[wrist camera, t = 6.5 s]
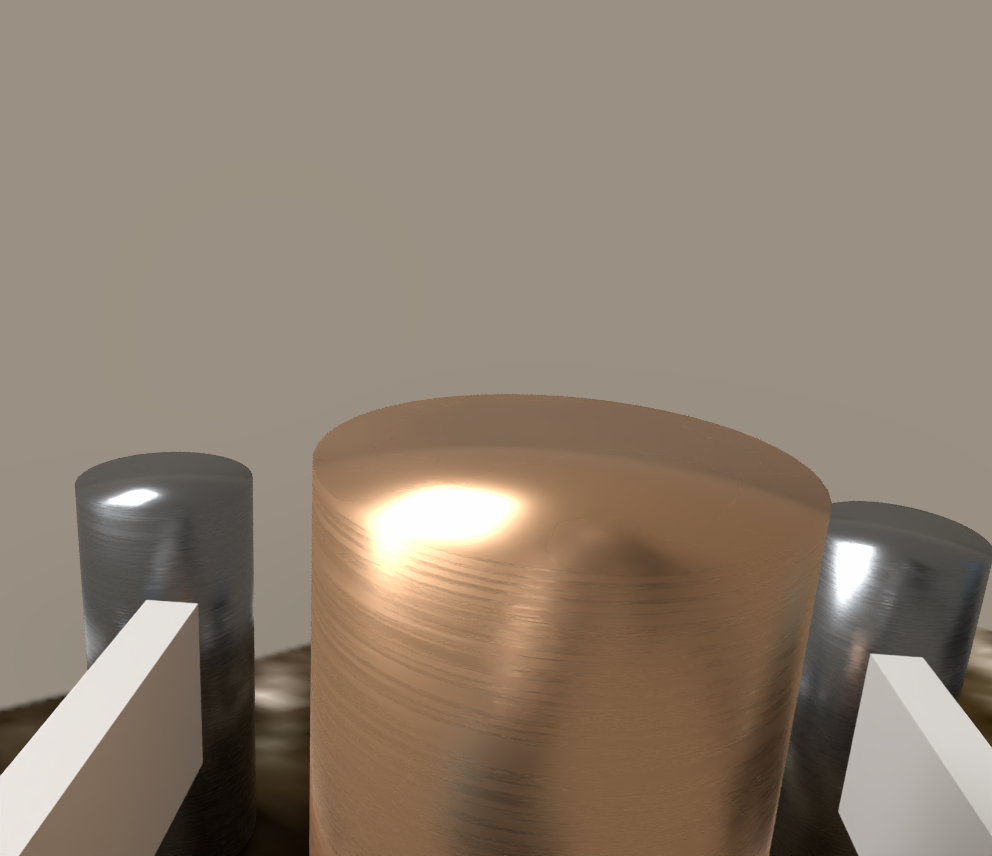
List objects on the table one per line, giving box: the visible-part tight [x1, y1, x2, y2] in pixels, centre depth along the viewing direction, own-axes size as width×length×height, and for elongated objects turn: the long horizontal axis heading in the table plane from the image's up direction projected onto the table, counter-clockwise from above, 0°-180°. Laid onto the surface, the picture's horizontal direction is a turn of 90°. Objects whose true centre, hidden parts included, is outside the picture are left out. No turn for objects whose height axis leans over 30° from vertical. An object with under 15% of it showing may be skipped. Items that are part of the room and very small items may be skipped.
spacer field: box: [75, 452, 992, 856], centre depth 15 cm, size 28×12×8 cm, turn 88°
